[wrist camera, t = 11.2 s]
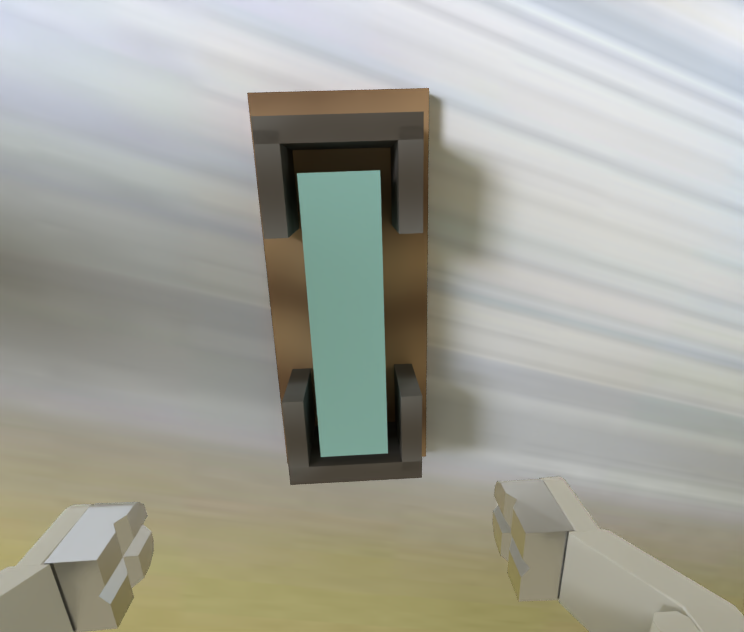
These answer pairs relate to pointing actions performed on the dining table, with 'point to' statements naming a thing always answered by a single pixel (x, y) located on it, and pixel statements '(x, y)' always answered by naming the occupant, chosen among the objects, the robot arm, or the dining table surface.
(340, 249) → the slat
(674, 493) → the dining table surface
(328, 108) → the sharpening stone holder
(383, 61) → the dining table surface
